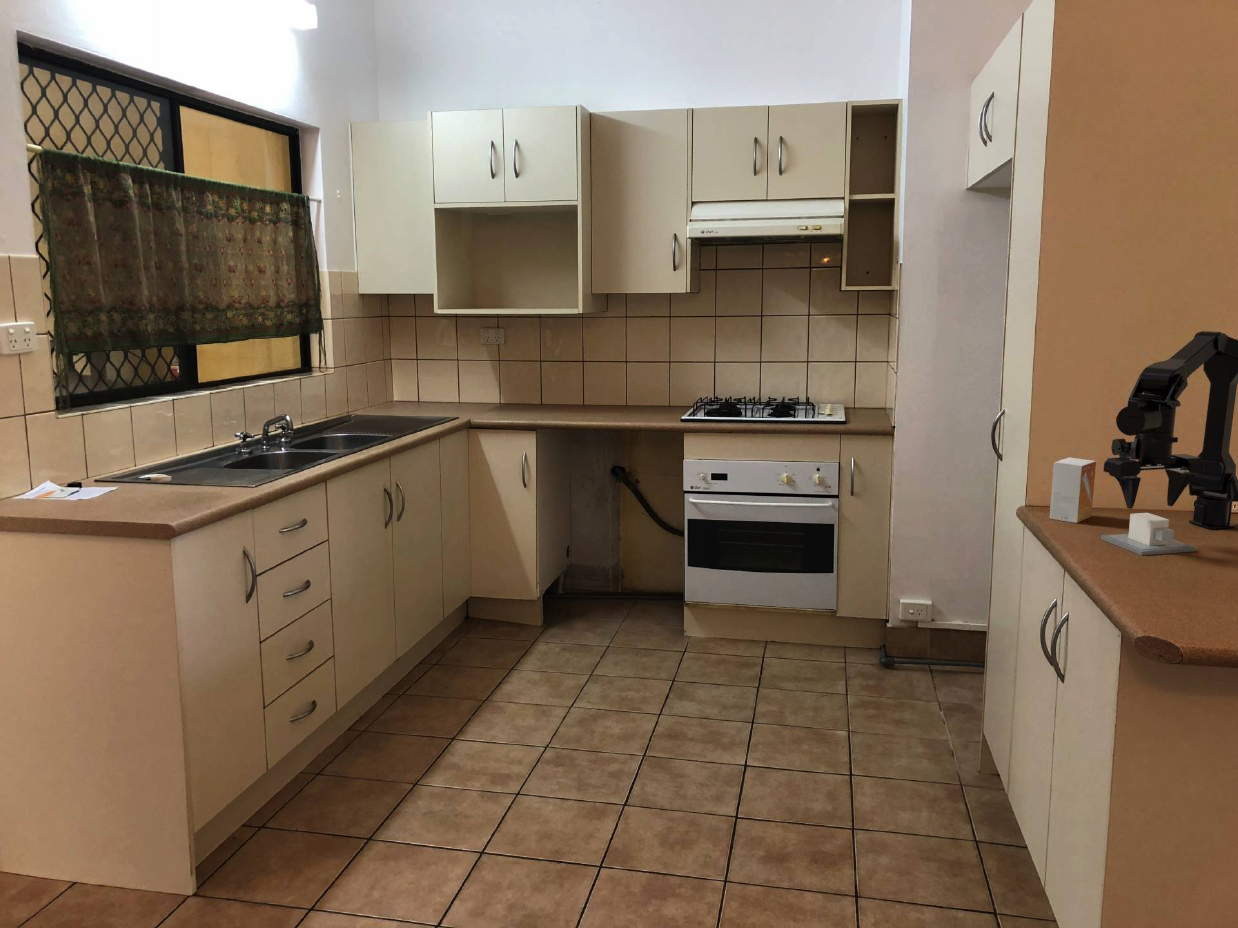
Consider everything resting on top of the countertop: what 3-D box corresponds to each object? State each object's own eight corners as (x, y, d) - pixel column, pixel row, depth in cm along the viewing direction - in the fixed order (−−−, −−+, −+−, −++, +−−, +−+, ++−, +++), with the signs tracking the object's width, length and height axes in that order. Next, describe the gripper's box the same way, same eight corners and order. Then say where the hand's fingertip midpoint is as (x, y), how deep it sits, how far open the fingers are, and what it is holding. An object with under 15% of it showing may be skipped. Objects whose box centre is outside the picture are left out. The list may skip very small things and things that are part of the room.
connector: (1145, 536, 204) (1147, 512, 203) (1175, 547, 196) (1178, 522, 195) (1128, 537, 203) (1130, 513, 202) (1157, 548, 195) (1160, 524, 194)
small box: (1077, 523, 218) (1082, 465, 215) (1048, 518, 222) (1052, 461, 219) (1092, 517, 223) (1097, 460, 220) (1063, 512, 228) (1068, 456, 225)
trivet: (1151, 535, 207) (1152, 531, 207) (1195, 551, 196) (1195, 546, 196) (1100, 539, 205) (1101, 534, 205) (1141, 555, 194) (1141, 550, 193)
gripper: (1168, 422, 205) (1161, 495, 208) (1088, 426, 202) (1082, 500, 205) (1210, 431, 195) (1202, 508, 198) (1126, 435, 191) (1119, 513, 194)
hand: (1149, 507), depth 199 cm, fingers open, 9 cm apart
